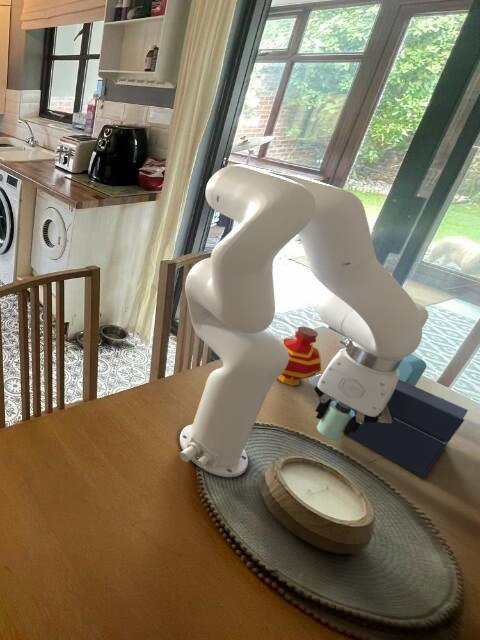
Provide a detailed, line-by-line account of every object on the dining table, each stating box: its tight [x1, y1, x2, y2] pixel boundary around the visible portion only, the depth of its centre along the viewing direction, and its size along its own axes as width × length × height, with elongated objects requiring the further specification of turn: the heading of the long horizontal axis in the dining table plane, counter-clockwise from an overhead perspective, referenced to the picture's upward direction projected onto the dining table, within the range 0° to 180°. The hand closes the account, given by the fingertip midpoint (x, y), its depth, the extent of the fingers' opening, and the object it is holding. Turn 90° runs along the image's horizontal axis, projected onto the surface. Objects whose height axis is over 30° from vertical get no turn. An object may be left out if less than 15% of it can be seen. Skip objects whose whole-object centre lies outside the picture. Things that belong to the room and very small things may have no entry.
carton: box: [346, 379, 469, 479], centre depth 88 cm, size 15×14×10 cm
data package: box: [397, 353, 427, 387], centre depth 102 cm, size 12×4×12 cm, turn 16°
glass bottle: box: [316, 400, 355, 441], centre depth 87 cm, size 4×4×8 cm
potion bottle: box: [277, 326, 322, 386], centre depth 104 cm, size 10×10×15 cm
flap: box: [388, 388, 465, 443], centre depth 80 cm, size 7×14×1 cm
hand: (334, 423), depth 88 cm, fingers closed on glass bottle, 4 cm apart
